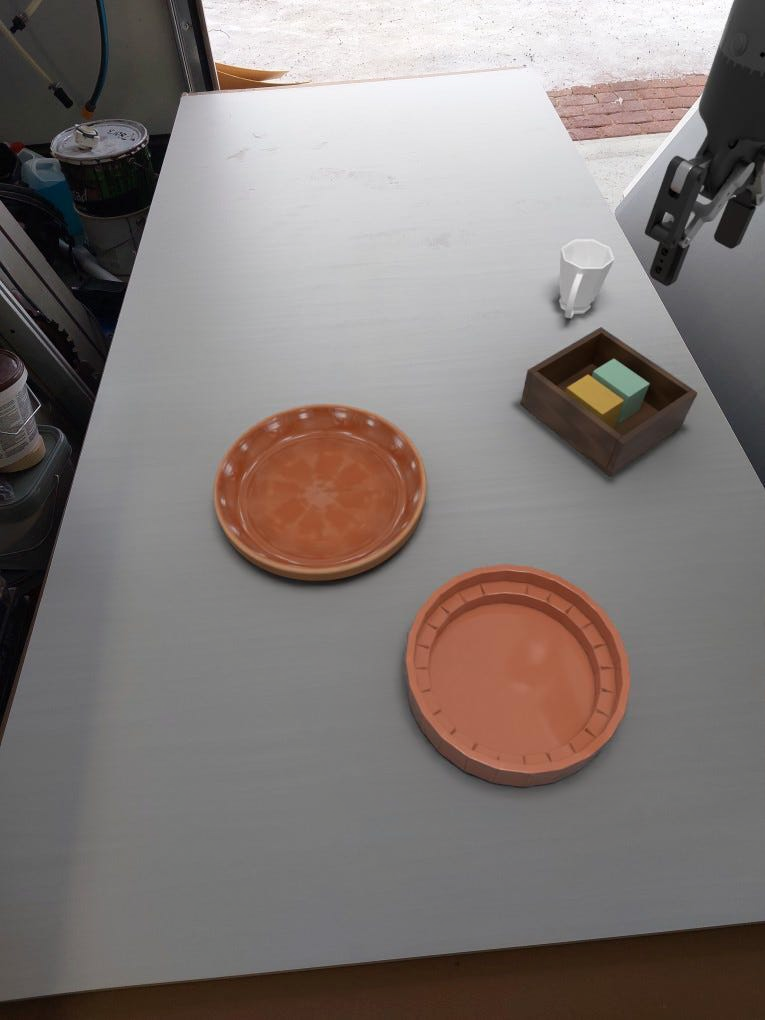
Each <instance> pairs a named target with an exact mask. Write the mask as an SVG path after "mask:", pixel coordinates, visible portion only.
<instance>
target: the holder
mask: <svg viewBox="0 0 765 1020" xmlns="http://www.w3.org/2000/svg"><path fill="white" fill-rule="evenodd" d="M612 359H615V360H617V361H618V362H620V363H621V364H623V365H624V366H625V367H627V368H628V369H630V370H631V371H633V372H634V373H635V374H637V375H638V376H640V377H641V378H643V379H644V380H645V381H647V382H648V383H650V384H649V387H648V389H647V392H646V394H645V397H644V399H643V402H642V404H641V406H640V409H639V411H638V412H636V413H635V414H633V415H632V416H630V417H629V418H627V419H626V420H624V421H623V422H621V423H619V424H618V423H617V422H616V423H615V426H614V428H611V427H610V426H608V425H607V424H606V423H604V422H603V421H602V420H600V419H599V418H598V417H597V416H595V415H594V414H593V413H591V412H590V411H589V410H587V409H586V408H585V407H583V406H582V405H581V404H579V403H578V402H577V401H575V400H574V399H573V398H572V397H570V396H569V395H568V394H566V389H567V387H569V386H570V385H572V384H573V383H575V382H577V381H578V380H580V379H581V378H583V377H585V376H586V375H590V376H591V377H592V374H593V371H594V370H596V369H597V368H599V367H601V366H602V365H604V364H606V363H607V362H609V361H610V360H612ZM526 370H527V371H526V375H525V380H524V385H523V389H522V394H521V400H520V405H521V406H522V407H524V408H525V409H526V410H527V411H528V412H529V413H531V414H532V415H533V416H535V417H536V418H537V419H538V420H540V421H541V422H542V423H544V424H545V425H546V426H547V427H548V428H550V429H551V430H552V431H553V432H554V433H556V434H557V435H558V436H559V437H561V438H562V439H563V440H564V441H566V442H567V443H568V444H569V445H571V447H573V448H575V449H576V450H577V451H578V452H580V454H582V455H583V456H584V457H586V458H587V459H588V460H589V461H590V462H592V463H593V464H594V465H595V466H597V467H598V468H599V469H600V470H601V471H603V472H604V473H605V474H607V475H608V476H609V477H612V476H613V475H614V474H616V473H617V472H618V471H620V470H622V469H623V468H624V467H626V466H627V465H629V464H630V463H632V462H633V461H634V460H636V459H638V458H639V457H640V456H641V455H643V454H645V453H646V452H647V451H649V450H650V449H651V448H653V447H655V446H656V445H657V444H659V443H660V442H661V441H663V440H664V439H666V438H667V437H668V436H670V435H672V434H673V433H674V432H675V431H677V430H679V429H680V428H681V427H682V426H683V424H684V422H685V420H686V418H687V416H688V414H689V412H690V410H691V408H692V406H693V404H694V402H695V400H696V398H697V396H698V394H699V393H698V391H697V390H695V389H693V388H692V387H691V386H689V385H688V384H686V383H685V382H683V381H682V380H680V379H679V378H678V377H676V376H675V375H673V374H671V373H670V372H668V371H667V370H666V369H664V368H662V367H661V366H659V364H656V363H655V362H653V360H650V359H649V358H648V357H647V356H645V355H643V354H642V353H640V352H639V351H638V350H636V349H634V348H633V347H632V346H630V345H629V344H627V343H625V342H624V341H623V340H621V339H619V337H617V336H615V335H614V334H612V333H611V332H609V331H608V330H606V329H604V328H603V327H602V326H600V327H598V328H596V329H595V330H593V331H592V332H590V333H588V334H587V335H584V336H583V337H582V338H580V339H578V340H576V341H574V342H572V343H571V344H569V345H568V346H565V347H564V348H563V349H561V350H559V351H558V352H556V353H554V354H552V355H551V356H549V357H547V358H545V359H544V360H542V361H541V362H539V363H537V364H535V365H534V366H532V367H530V368H529V369H526Z"/></svg>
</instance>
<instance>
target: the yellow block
mask: <svg viewBox="0 0 765 1020" xmlns="http://www.w3.org/2000/svg"><path fill="white" fill-rule="evenodd" d="M566 394H568V395H569V396H570V397H572V398H573V399H574V400H575V401H577V402H578V403H579V404H581V405H582V406H583V407H585V408H586V409H587V410H589V411H590V412H591V413H593V414H594V415H595V416H597V417H598V418H599V419H600V420H602V421H603V422H604V423H606V424H607V425H608V426H610V427H611V428H614V426H615V423H616V421H617V418H618V415H619V413H620V410H621V407H622V405H623V402H624V400H623V399H622V398H620V397H619V396H617V395H616V394H615V393H613V392H612V391H610V390H609V389H608V388H606V387H605V386H604V385H602V384H601V383H599V382H598V381H597V380H595V379H594V378H592V377H591V376H590V375H586V376H585V377H583V378H581V379H580V380H578V381H577V382H575V383H573V384H572V385H570V386H569V387H567V389H566Z"/></svg>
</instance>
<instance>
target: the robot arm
mask: <svg viewBox="0 0 765 1020" xmlns="http://www.w3.org/2000/svg"><path fill="white" fill-rule="evenodd" d="M698 113H699V116H700V118H701V120H702V122H703V123H704V125H705V128H706V136H705V138H704V140H703V142H702V144H701V145H700V147H699V149H698V150H697V152H696V154H695V156H694V157H692V158H691V159H686V158H684V157H682V156H680V155H675V156H674V157H672V159H670V161H669V162H668V165H667V167H666V170H665V172H664V176H663V179H662V181H661V183H660V187H659V190H658V193H657V195H656V199H655V200H654V204H653V207H652V209H651V213H650V214H649V218H648V221H647V223H646V226H645V228H644V235H645V236H647V237H648V238H650V239H652V240H654V241H656V242H657V243H658V245H657V248H656V251H655V254H654V257H653V260H652V262H651V266H650V269H649V275H650V277H651V278H652V279H653V280H655V281H656V282H658V283H660V284H662V285H663V286H665V287H669V286H671V285H673V284H675V283H676V282H677V280H678V278H679V275H680V273H681V269H682V268H683V265H684V262H685V260H686V257H687V255H688V252H689V249H690V246H691V243H692V241H693V240H694V238H695V237H696V235H697V234H698V233H699V231H700V230H701V228H702V227H703V225H704V224H706V223H711V222H712V221H714V220H715V219H716V218H717V216H718V215H719V214H720V212H721V211H722V209H723V208H724V210H723V211H722V215H721V217H720V218H719V219H720V220H719V222H718V225H717V227H716V230H715V231H714V233H713V238H714V241H715V242H716V243H718V244H720V245H722V246H723V247H725V248H728V249H729V250H732V249H734V248H736V247H738V246H739V245H740V244H741V243H742V241H743V239H744V236H745V235H746V233H747V230H748V228H749V226H750V222H751V221H752V219H753V216H754V214H755V212H756V210H757V207H760V206H762V205H763V204H764V202H765V0H733V1H732V4H731V7H730V9H729V13H728V16H727V19H726V22H725V25H724V28H723V31H722V33H721V37H720V39H719V43H718V46H717V48H716V52H715V55H714V58H713V61H712V64H711V67H710V70H709V72H708V75H707V78H706V81H705V84H704V87H703V91H702V94H701V97H700V100H699V103H698ZM699 195H700V196H701V197H703V198H705V199H707V200H708V201H710V202H709V203H707V204H703V203H701V202H700V201H697V199H698V196H699ZM724 206H725V207H724ZM691 214H693V215H694V216H693V217H692V219H691V221H689V219H690V216H691ZM688 221H689V223H688Z"/></svg>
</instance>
